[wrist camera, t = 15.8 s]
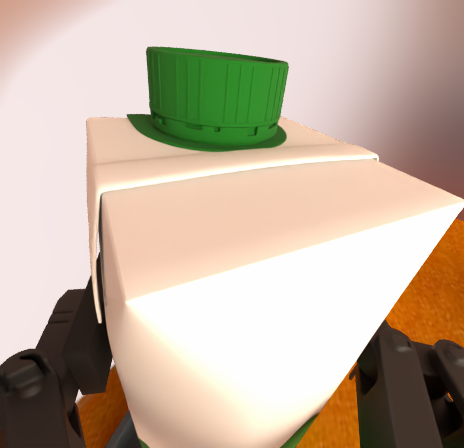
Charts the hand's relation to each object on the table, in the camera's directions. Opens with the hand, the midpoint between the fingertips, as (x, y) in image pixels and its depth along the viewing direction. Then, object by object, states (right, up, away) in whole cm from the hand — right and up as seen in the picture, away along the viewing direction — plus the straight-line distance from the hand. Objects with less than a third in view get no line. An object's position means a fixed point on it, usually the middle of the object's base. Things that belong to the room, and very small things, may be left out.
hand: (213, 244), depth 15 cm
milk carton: (0, -12, +3) cm, 12 cm away
